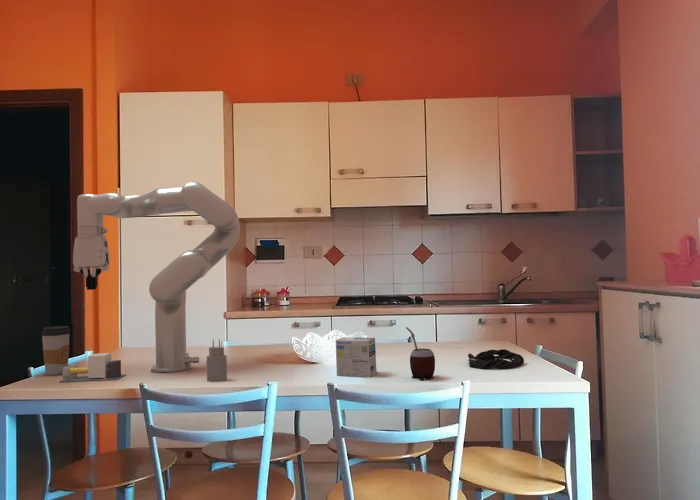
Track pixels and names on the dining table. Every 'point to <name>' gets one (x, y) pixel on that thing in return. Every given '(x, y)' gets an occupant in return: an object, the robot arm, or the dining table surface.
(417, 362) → the mate gourd
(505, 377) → the dining table surface
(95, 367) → the marker sleeve
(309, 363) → the dining table surface
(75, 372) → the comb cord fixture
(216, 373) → the power adapter
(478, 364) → the cable
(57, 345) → the coffee cup
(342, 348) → the light bulb box
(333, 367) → the dining table surface
